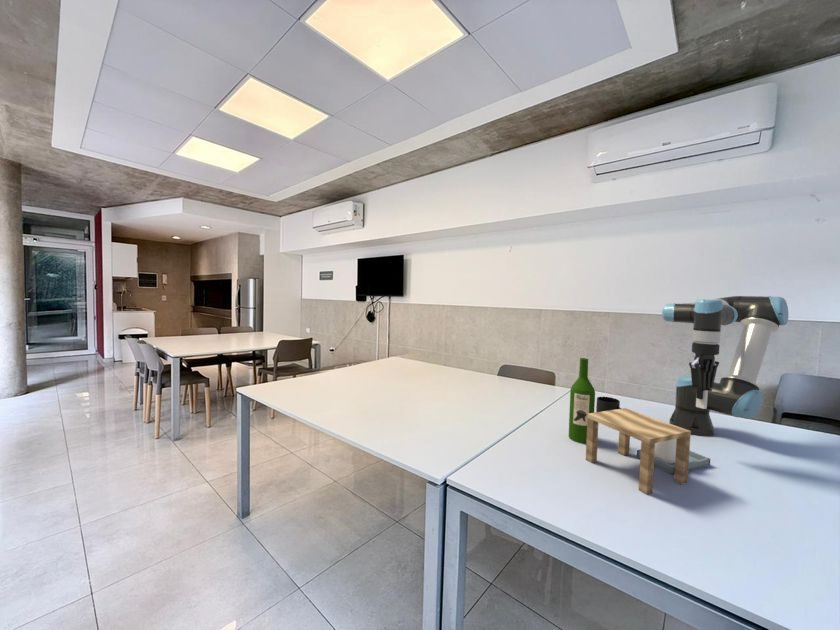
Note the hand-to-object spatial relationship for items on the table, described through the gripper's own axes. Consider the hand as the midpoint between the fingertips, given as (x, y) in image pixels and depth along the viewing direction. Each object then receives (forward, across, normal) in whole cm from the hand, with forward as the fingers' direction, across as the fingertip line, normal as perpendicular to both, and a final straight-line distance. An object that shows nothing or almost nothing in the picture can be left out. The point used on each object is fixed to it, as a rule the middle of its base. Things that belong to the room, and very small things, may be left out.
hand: (701, 407), depth 123 cm
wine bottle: (+18, +30, -25) cm, 43 cm away
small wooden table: (+18, +33, 0) cm, 37 cm away
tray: (+18, +14, 0) cm, 22 cm away
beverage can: (+17, +18, 0) cm, 25 cm away
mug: (+18, 0, -37) cm, 41 cm away
